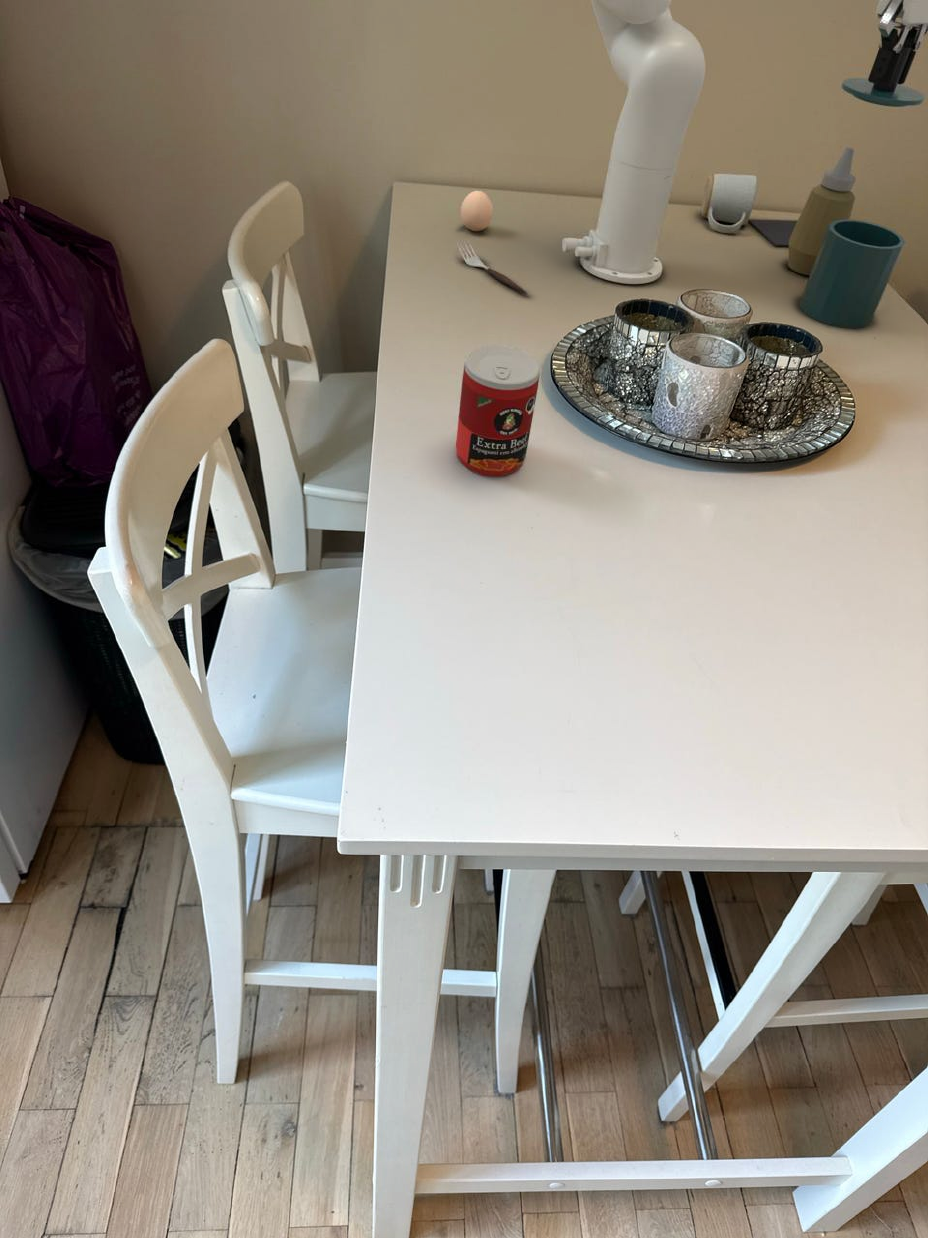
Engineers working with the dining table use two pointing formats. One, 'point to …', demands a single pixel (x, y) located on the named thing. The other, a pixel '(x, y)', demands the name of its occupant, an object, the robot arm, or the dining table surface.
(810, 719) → the dining table surface
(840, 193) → the squeeze bottle
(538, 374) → the canned food
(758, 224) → the mat
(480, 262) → the fork
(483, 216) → the egg
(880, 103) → the tin lid
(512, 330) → the dining table surface
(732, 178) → the ceramic mug
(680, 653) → the dining table surface
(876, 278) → the tin
